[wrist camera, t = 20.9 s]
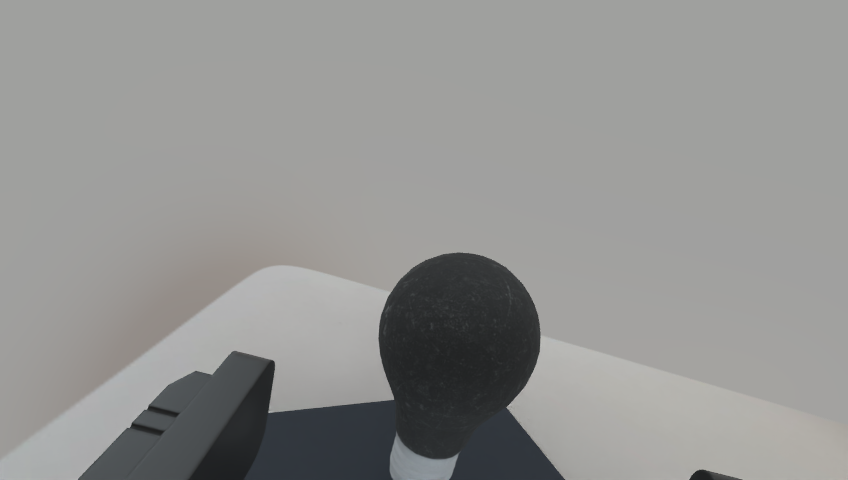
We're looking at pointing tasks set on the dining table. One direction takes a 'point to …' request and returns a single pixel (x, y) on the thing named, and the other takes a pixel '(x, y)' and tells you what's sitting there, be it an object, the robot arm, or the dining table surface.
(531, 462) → the mat
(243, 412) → the robot arm
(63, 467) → the dining table surface
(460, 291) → the light bulb
